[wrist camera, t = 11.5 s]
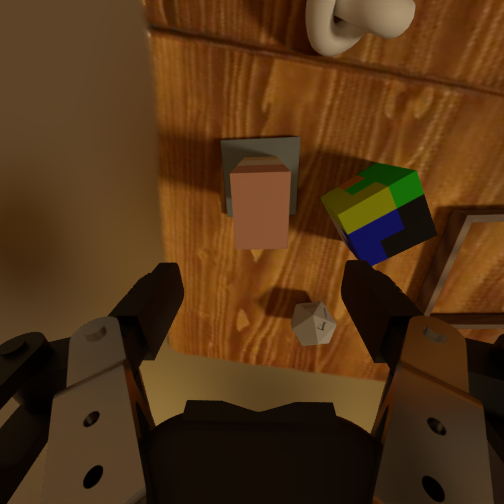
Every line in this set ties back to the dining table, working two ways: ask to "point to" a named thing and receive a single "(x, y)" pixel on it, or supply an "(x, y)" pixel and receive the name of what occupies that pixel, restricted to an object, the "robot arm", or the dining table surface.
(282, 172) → the brick terracotta
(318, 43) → the white knot
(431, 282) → the tray frame
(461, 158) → the dining table surface
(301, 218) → the dining table surface
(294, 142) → the baseplate
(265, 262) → the dining table surface
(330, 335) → the die
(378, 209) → the puzzle toy
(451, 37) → the dining table surface
